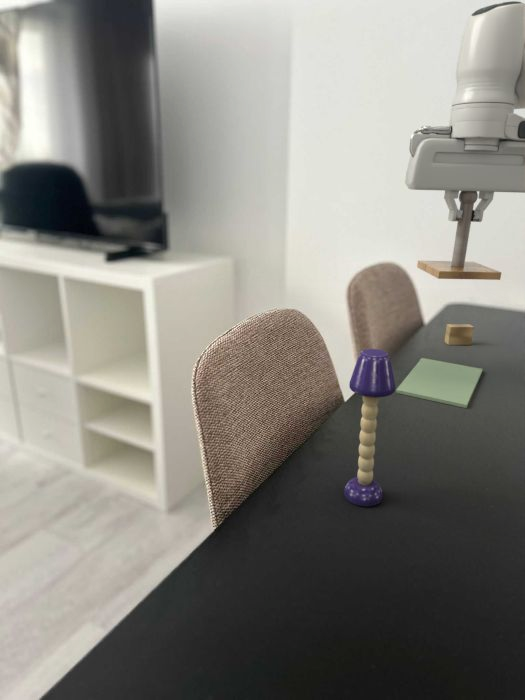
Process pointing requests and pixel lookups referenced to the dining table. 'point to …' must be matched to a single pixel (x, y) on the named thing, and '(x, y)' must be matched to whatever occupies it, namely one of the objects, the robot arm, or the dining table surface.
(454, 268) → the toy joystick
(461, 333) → the block
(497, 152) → the robot arm
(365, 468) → the toy lamp
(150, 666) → the dining table surface
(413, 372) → the mat
